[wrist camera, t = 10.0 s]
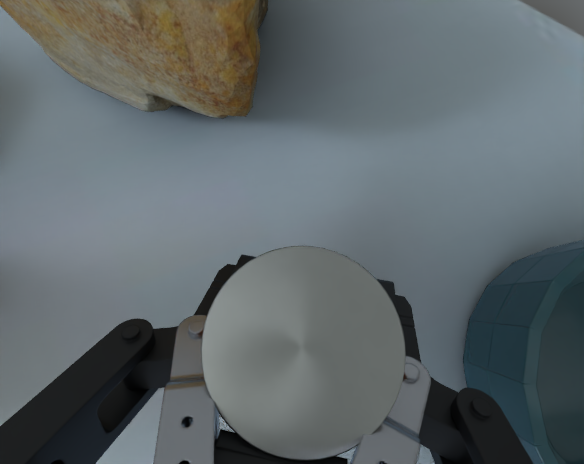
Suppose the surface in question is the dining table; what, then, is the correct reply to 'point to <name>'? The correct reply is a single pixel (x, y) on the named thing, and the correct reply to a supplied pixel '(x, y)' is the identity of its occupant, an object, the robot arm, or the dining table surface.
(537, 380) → the bowl
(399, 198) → the dining table surface
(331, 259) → the tube
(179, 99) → the rough brown rock
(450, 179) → the dining table surface
